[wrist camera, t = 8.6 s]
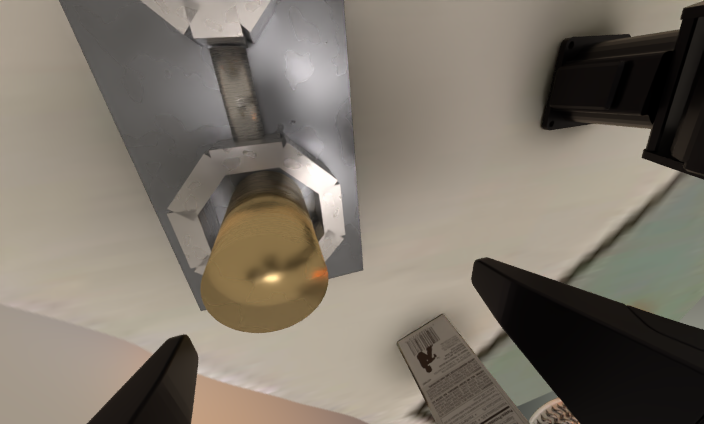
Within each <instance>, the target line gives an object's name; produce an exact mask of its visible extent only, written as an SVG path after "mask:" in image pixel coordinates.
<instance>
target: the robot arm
mask: <svg viewBox="0 0 704 424" xmlns="http://www.w3.org/2000/svg"><path fill="white" fill-rule="evenodd" d="M682 19H683V20H682ZM680 20H682V23H681V27H680V29H679V30H673V31H666V32H660V33H654V34H647V35H641V36H635V37H631V36H630V35H629V34H623V35H603V36H584V37H571V38H567V39H565V40H564V41H563V42H562V44H561V47H560V51H559V55H558V59H557V64H556V68H555V72H554V76H553V81H552V85H551V89H550V93H549V98H548V102H547V106H546V111H545V115H544V119H543V123H542V128H543V129H544V130H555V129H561V128H568V127H575V126H581V125H588V124H604V125H615V126H626V127H637V128H648V129H651V132H650V136H649V139H648V143H647V146H646V149H644V150H643V154H642V158H644V159H647V160H649V161H652V162H655V163H657V164H660V165H663V166H666V167H669V168H672V169H675V170H678V171H680V172H683V173H686V174H689V175H692V176H695V177H698V178H701V179H704V1H702V2H699V3H697V4H694V5H691V6H688V7H685V8H683V11H682V15H681V19H680ZM471 280H472V284H473V286H474V287H475V289H476V290H477V292H478V293H479V295H480V296H481V298H482V299H483V301H484V302H485V304H486V305H487V307H488V308H489V310H490V311H491V313H492V314H493V316H494V317H495V318H496V320H497V321H498V323H499V324H500V325H501V327H502V328H503V329H504V331H505V332H506V333H507V334H508V336H509V337H510V338H511V339H512V341H513V342H514V343H515V344H516V345H517V347H518V348H519V349H520V350H521V352H522V353H523V354H524V355H525V357H526V358H527V359H528V360H529V361H530V363H531V364H532V365H533V366H534V368H535V369H536V370H537V371H538V373H539V374H540V375H541V376H542V377H543V379H544V380H545V381H546V382H547V384H548V385H549V386H550V387H551V389H552V390H553V391H554V392H555V393H556V395H557V396H558V397H559V398H560V400H561V401H562V402H563V403H564V405H565V406H566V407H567V408H568V409H569V411H570V412H571V413H572V414H573V416H574V417H575V418H576V419H577V421H578V422H579V423H580V424H704V330H703V329H699V328H696V327H693V326H689V325H686V324H683V323H680V322H676V321H673V320H670V319H667V318H664V317H661V316H658V315H655V314H652V313H649V312H646V311H643V310H640V309H637V308H635V307H632V306H628V305H627V306H626V305H625V304H623V303H620V302H617V301H614V300H611V299H608V298H605V297H602V296H599V295H596V294H593V293H590V292H587V291H585V290H582V289H579V288H576V287H573V286H570V285H567V284H564V283H561V282H558V281H555V280H552V279H549V278H546V277H544V276H541V275H538V274H535V273H532V272H529V271H526V270H523V269H520V268H517V267H514V266H511V265H508V264H505V263H503V262H500V261H497V260H494V259H491V258H487V257H485V258H481V259H477V260H475V262H474V265H473V271H472V277H471ZM197 369H198V354H197V352H196V350H195V348H194V346H193V344H192V342H191V340H190V338H189V337H188V336H187V335H179V336H175V337H172V338H169V339H168V340H167V341H165V343H164V344H163V345H162V346H161V347H160V348H159V349H158V350H157V351H156V352H155V353H154V354H153V355H152V356H151V357H150V358H149V359H148V360H147V361H146V362H145V363H144V365H143V366H142V367H141V368H140V369H139V370H138V371H137V372H136V373H135V374H134V375H133V376H132V377H131V378H130V379H129V380H128V381H127V382H126V383H125V384H124V385H123V386H122V388H121V389H120V390H119V391H118V392H117V393H116V394H115V395H114V396H113V397H112V398H111V399H110V400H109V401H108V402H107V403H106V404H105V405H104V406H103V407H102V408H101V410H99V412H98V413H97V414H96V415H95V416H94V417H93V418H92V419H91V420H90V421H89V422H88V423H87V424H191V418H192V412H193V403H194V395H195V386H196V378H197Z"/></svg>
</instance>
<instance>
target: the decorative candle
mask: <svg viewBox="0 0 704 424" xmlns="http://www.w3.org/2000/svg"><path fill="white" fill-rule="evenodd" d="M529 423H530V424H580V423H579V422H578V421H577V419H576V418H575V417H574V416H573V414H572V413H571V412H570V411H569V409H568V408H567V407H566V406H565V405H564V403H563V402H562V401H561V400H560V398H556V399H553V400H551V401H549V402H547V403H545V404H544V405H543V406H541V407H540V408H539V409H538V410H537V411H536V412H535V413H534V414H533V415H532V416H531V418H530V420H529Z"/></svg>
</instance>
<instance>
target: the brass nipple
mask: <svg viewBox="0 0 704 424" xmlns="http://www.w3.org/2000/svg"><path fill="white" fill-rule="evenodd" d="M327 286H328V271H327V267H326V264H325V261H324V258H323V255H322V252H321V249H320V246H319V243H318V240H317V237H316V234H315V231H314V228H313V224H312V221H311V218H310V215H309V212H308V209H307V206H306V203H305V200H304V197H303V194H302V192H301V190H300V188H299V187H298V185H297V184H296V183H295V182H294V181H293V180H292V179H290V178H289V177H287V176H286V175H283V174H281V173H278V172H273V171H261V172H256V173H253V174H251V175H249V176H247V177H245V178H244V179H243V180H242V181H240V182H239V184H238V185H237V186H236V188H235V189H234V192H233V194H232V197H231V199H230V202H229V205H228V208H227V210H226V213H225V216H224V219H223V221H222V224H221V227H220V229H219V232H218V235H217V238H216V240H215V243H214V246H213V249H212V251H211V254H210V257H209V259H208V262H207V265H206V268H205V270H204V273H203V276H202V280H201V287H200V292H201V298H202V301H203V304H204V306H205V307H206V309H207V311H208V312H209V313H210V314H211V315H212V316H213V317H214V318H215V319H216V320H217V321H219V322H220V323H222V324H223V325H225V326H227V327H229V328H232V329H235V330H239V331H243V332H250V333H266V332H273V331H277V330H281V329H284V328H287V327H290V326H292V325H294V324H296V323H298V322H300V321H302V320H303V319H304V318H306V317H307V316H308V315H310V314H311V313H312V312H313V311H314V310H315V309H316V308H317V307H318V305H319V304H320V303H321V301H322V299H323V297H324V295H325V293H326V290H327Z"/></svg>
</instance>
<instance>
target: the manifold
mask: <svg viewBox="0 0 704 424" xmlns="http://www.w3.org/2000/svg"><path fill="white" fill-rule="evenodd" d="M59 1H60V3H61V6H62V8H63V10H64V12H65V14H66V17H67V19H68V21H69V23H70V25H71V27H72V30H73V32H74V34H75V36H76V38H77V41H78V43H79V45H80V47H81V49H82V52H83V54H84V56H85V58H86V60H87V63H88V65H89V67H90V69H91V71H92V73H93V76H94V78H95V80H96V82H97V84H98V87H99V89H100V91H101V93H102V95H103V98H104V100H105V102H106V104H107V106H108V109H109V111H110V113H111V115H112V117H113V119H114V122H115V124H116V126H117V128H118V130H119V133H120V135H121V137H122V139H123V141H124V144H125V146H126V148H127V150H128V152H129V155H130V157H131V159H132V161H133V163H134V165H135V168H136V170H137V172H138V174H139V176H140V179H141V181H142V183H143V185H144V187H145V190H146V192H147V194H148V196H149V198H150V201H151V203H152V205H153V207H154V209H155V211H156V214H157V216H158V218H159V220H160V222H161V225H162V227H163V229H164V231H165V233H166V236H167V238H168V240H169V242H170V244H171V247H172V249H173V251H174V253H175V255H176V257H177V260H178V262H179V264H180V266H181V268H182V271H183V273H184V275H185V277H186V279H187V282H188V284H189V286H190V288H191V290H192V293H193V295H194V297H195V299H196V301H197V303H198V306H199V308H200V310H201V311H203V310H207V309H206V307H205V306H204V304H203V301H202V298H201V292H200V287H201V280H202V276H203V273H204V270H205V268H206V265H207V262H208V259H209V257H210V254H211V251H212V249H213V246H214V243H215V240H216V238H217V235H218V232H219V229H220V227H221V224H222V221H223V219H224V216H225V213H226V210H227V208H228V205H229V202H230V199H231V197H232V194H233V192H234V189H235V188H236V186H237V185H238V184H239V182H240V181H242V180H243V179H244V178H245V177H247V176H249V175H251V174H253V173H256V172H261V171H273V172H278V173H281V174H283V175H286V176H287V177H289V178H290V179H292V180H293V181H294V182H295V183H296V184H297V185H298V187H299V188H300V190H301V192H302V194H303V197H304V200H305V203H306V206H307V209H308V212H309V215H310V218H311V221H312V224H313V228H314V231H315V234H316V237H317V240H318V243H319V246H320V249H321V252H322V255H323V258H324V261H325V264H326V267H327V271H328V279H330V278H334V277H338V276H342V275H346V274H350V273H354V272H358V271H362V270H363V260H362V246H361V232H360V219H359V205H358V191H357V177H356V164H355V150H354V136H353V123H352V109H351V95H350V81H349V68H348V54H347V40H346V27H345V13H344V0H59Z"/></svg>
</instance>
